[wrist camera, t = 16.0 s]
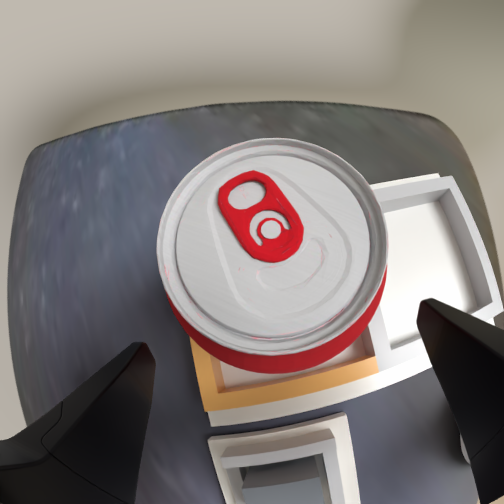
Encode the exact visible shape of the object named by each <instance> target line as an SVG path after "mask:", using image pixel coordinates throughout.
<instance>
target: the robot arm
mask: <svg viewBox="0 0 504 504" xmlns="http://www.w3.org/2000/svg"><path fill="white" fill-rule="evenodd" d="M416 324H417V328H418V331H419V333H420V336H421V338H422V341H423V344H424V346H425V349H426V352H427V355H428V357H429V360H430V363H431V365H432V367H433V369H434V371H435V373H436V376H437V378H438V380H439V382H440V384H441V387H442V389H443V391H444V394H445V396H446V398H447V401H448V403H449V405H450V408H451V410H452V413H453V415H454V418H455V420H456V423H457V426H458V428H459V431H460V434H461V437H462V440H463V443H464V445H465V448H466V452H467V455H468V458H469V460H470V465H471V468H472V472H473V475H474V479H475V483H476V487H477V491H478V495H479V500H480V504H489V503H491V502H493V501H495V500H497V499H498V498H500V497H502V496H503V495H504V330H503V329H501V328H498V327H496V326H494V325H492V324H490V323H488V322H485V321H483V320H481V319H479V318H477V317H474V316H472V315H470V314H468V313H466V312H463V311H461V310H459V309H457V308H454V307H452V306H450V305H448V304H445V303H443V302H441V301H439V300H436V299H434V298H427V299H424V300H422V301H421V302H420V304H419V309H418V314H417V319H416ZM155 367H156V363H155V359H154V357H153V355H152V353H151V351H150V350H149V348H148V346H147V344H146V343H145V342H134V343H132V344H131V345H130V346H128V347H127V348H126V349H125V350H123V351H122V352H121V353H120V354H118V355H117V356H116V357H115V358H114V359H112V360H111V361H110V362H109V363H107V364H106V365H105V366H104V367H103V368H101V369H100V370H99V371H98V372H96V373H95V374H94V375H93V376H92V377H90V378H89V379H88V380H87V381H86V382H84V383H83V384H82V385H81V386H79V387H78V388H77V389H76V390H75V391H73V392H72V393H71V394H70V395H68V396H67V397H66V398H65V399H64V400H63V401H61V402H60V403H59V404H57V405H56V406H55V407H54V408H53V409H51V410H50V411H49V412H48V413H46V414H45V415H44V416H42V417H41V418H39V419H38V420H37V421H35V422H34V423H32V424H31V425H29V426H28V427H26V428H25V429H24V430H22V431H21V432H19V433H18V434H16V435H15V436H13V437H11V438H9V439H6V440H0V504H135V496H136V488H137V481H138V475H139V468H140V462H141V456H142V450H143V445H144V439H145V434H146V429H147V423H148V418H149V414H150V409H151V403H152V394H153V384H154V375H155Z"/></svg>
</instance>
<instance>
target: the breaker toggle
mask: <svg viewBox="0 0 504 504" xmlns="http://www.w3.org/2000/svg"><path fill="white" fill-rule="evenodd" d="M241 490H242V493H243V496H244V499H245V503H246V504H325V502H324V497H323V492H322V487H321V481H320V476H319V472H318V468H317V464H316V460H315V456H314V455H312V456H307V457H303V458H298V459H293V460H288V461H282V462H276V463H270V464H263V465H255V466H249V469H248V472H247V475H246V477H245V480H244V483H243V485H242V488H241Z"/></svg>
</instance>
